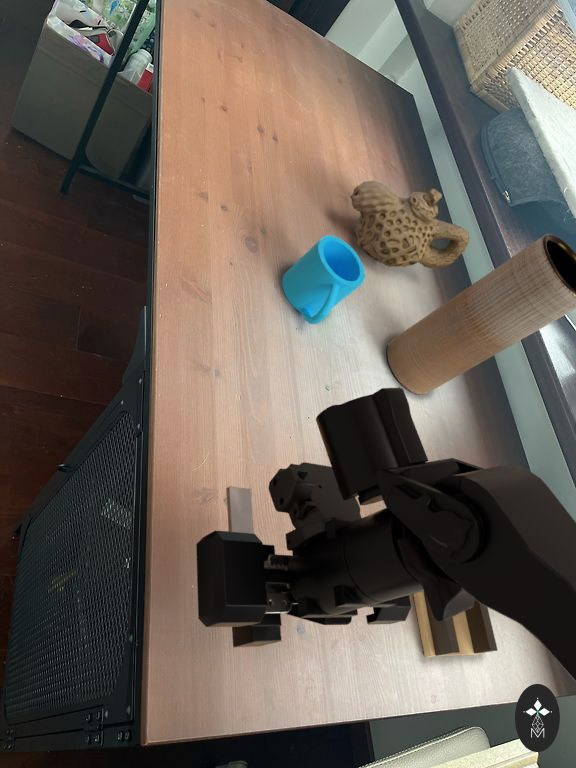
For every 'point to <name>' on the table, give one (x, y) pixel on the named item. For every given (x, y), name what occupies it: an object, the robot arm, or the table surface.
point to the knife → (243, 523)
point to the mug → (323, 278)
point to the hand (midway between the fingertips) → (251, 601)
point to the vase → (487, 316)
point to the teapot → (404, 227)
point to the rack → (455, 630)
